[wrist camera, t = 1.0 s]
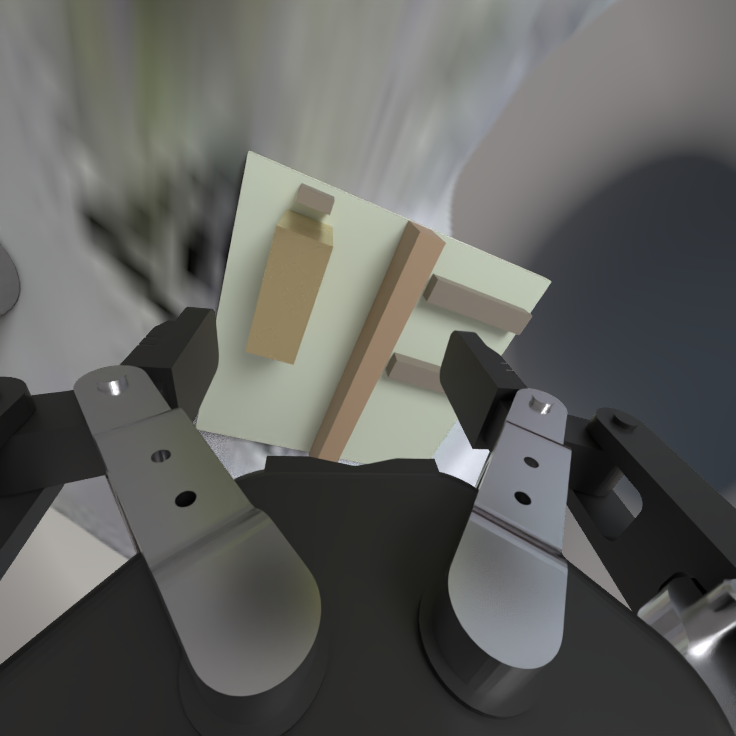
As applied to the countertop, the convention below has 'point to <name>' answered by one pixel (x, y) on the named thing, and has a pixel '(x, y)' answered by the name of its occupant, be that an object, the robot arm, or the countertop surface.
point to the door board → (355, 326)
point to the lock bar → (290, 286)
